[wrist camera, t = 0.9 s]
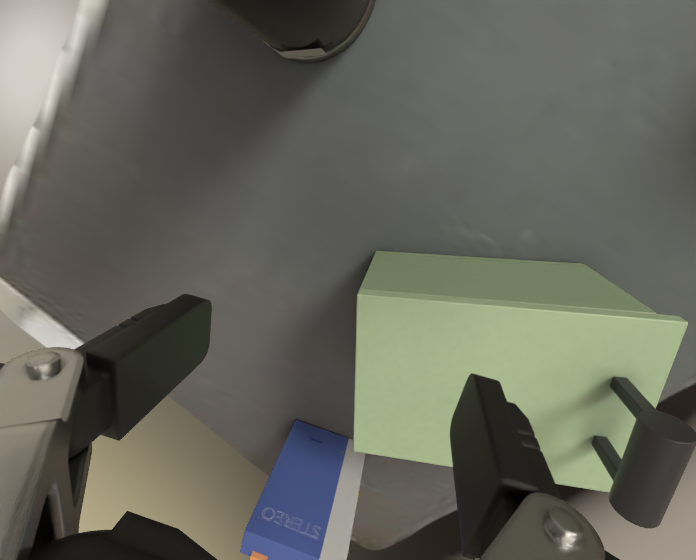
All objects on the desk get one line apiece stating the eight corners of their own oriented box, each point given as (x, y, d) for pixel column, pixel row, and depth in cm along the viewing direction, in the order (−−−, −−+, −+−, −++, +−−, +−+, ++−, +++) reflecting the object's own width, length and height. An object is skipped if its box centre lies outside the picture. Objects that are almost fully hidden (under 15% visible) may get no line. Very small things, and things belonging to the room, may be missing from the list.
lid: (678, 315, 18) (783, 381, 13) (616, 483, 22) (676, 585, 17) (358, 289, 21) (338, 334, 16) (354, 442, 25) (338, 519, 20)
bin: (584, 263, 26) (657, 313, 18) (551, 392, 30) (599, 480, 22) (375, 250, 29) (359, 288, 21) (370, 370, 33) (355, 442, 25)
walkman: (290, 438, 38) (237, 557, 27) (295, 418, 37) (242, 535, 26) (360, 463, 37) (335, 596, 26) (368, 444, 36) (345, 575, 25)
